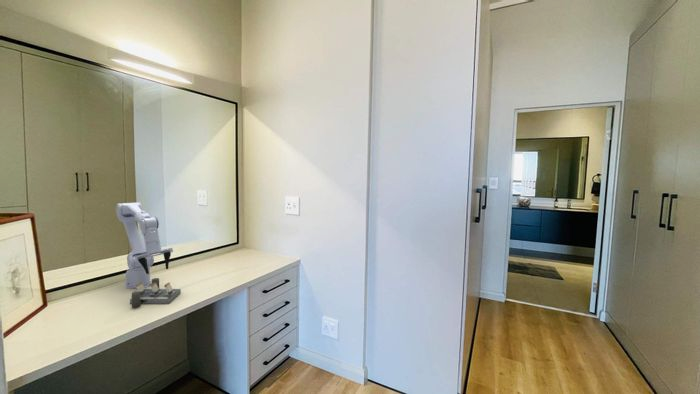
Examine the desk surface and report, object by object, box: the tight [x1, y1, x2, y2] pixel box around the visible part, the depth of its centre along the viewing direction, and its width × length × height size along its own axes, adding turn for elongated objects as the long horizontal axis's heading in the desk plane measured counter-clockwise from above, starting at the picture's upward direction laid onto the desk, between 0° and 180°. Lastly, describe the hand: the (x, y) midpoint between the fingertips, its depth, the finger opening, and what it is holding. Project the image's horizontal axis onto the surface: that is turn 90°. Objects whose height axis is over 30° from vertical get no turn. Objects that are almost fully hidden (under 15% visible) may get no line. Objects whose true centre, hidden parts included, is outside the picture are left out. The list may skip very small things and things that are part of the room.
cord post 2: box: [151, 277, 160, 289], centre depth 139 cm, size 3×3×6 cm
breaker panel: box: [129, 288, 182, 305], centre depth 132 cm, size 16×11×3 cm
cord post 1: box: [131, 290, 142, 309], centre depth 124 cm, size 3×3×6 cm
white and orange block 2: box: [149, 282, 160, 294], centre depth 132 cm, size 1×3×4 cm, turn 5°
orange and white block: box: [163, 282, 174, 294], centre depth 132 cm, size 1×3×4 cm, turn 5°
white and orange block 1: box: [136, 282, 146, 294], centre depth 131 cm, size 1×3×4 cm, turn 5°
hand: (157, 271), depth 133 cm, fingers open, 7 cm apart
